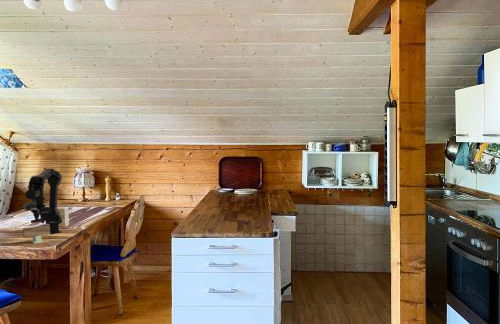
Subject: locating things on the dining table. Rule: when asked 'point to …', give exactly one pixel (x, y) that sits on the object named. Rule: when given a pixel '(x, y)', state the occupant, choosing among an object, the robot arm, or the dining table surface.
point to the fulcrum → (36, 239)
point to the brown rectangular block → (36, 231)
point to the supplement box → (64, 216)
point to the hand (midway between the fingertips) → (39, 222)
